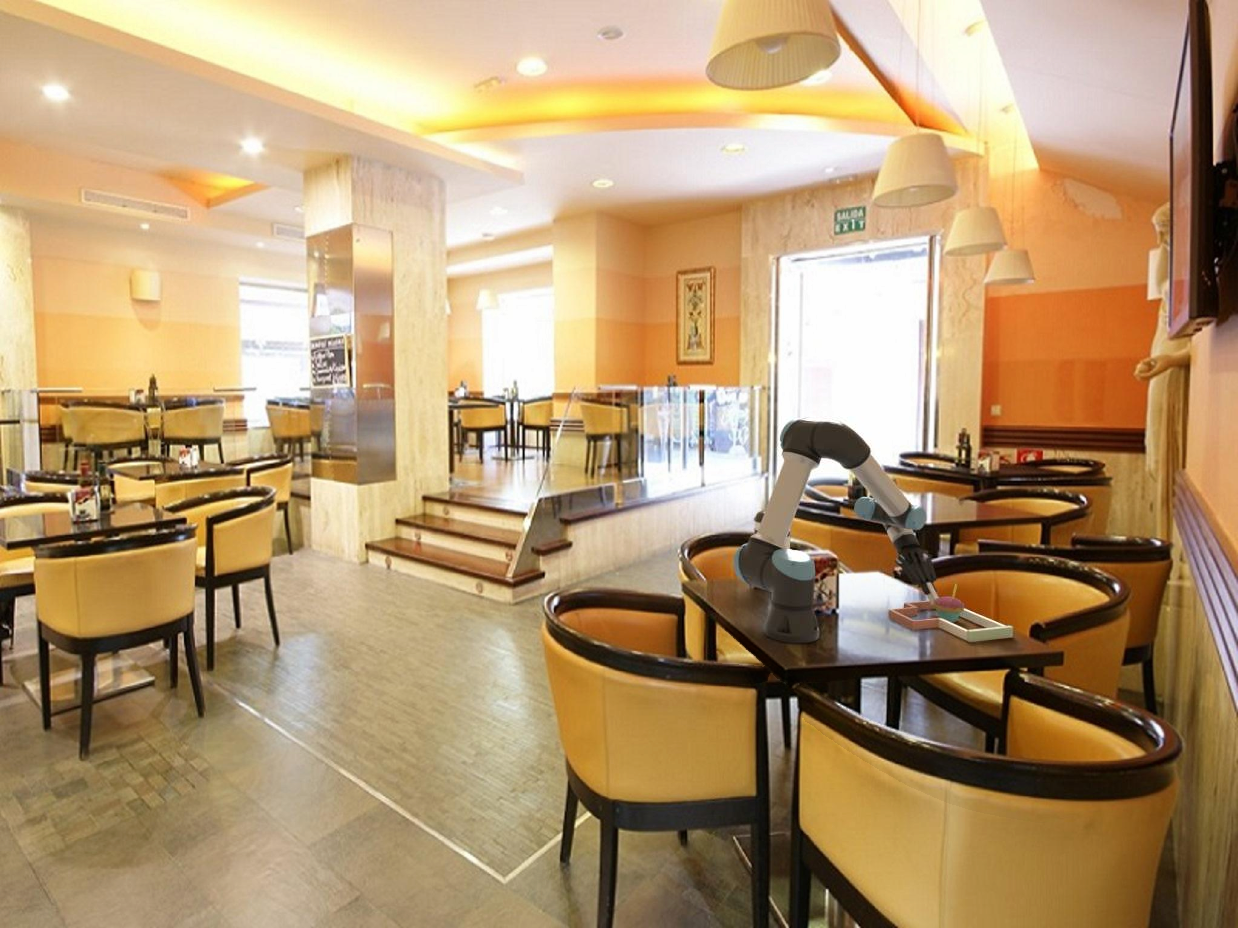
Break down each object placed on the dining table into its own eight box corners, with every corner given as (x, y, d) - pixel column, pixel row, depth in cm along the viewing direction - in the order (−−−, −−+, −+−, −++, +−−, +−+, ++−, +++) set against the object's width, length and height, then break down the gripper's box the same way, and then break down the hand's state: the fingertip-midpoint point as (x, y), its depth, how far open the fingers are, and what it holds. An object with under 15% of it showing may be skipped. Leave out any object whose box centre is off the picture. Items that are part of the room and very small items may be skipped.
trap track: (942, 644, 189) (943, 634, 188) (879, 612, 216) (879, 603, 215) (1012, 637, 195) (1013, 626, 194) (942, 606, 222) (942, 597, 221)
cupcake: (957, 615, 213) (959, 577, 212) (968, 625, 205) (970, 585, 203) (928, 614, 214) (930, 577, 212) (938, 624, 205) (940, 584, 204)
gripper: (914, 543, 233) (947, 607, 219) (881, 546, 230) (912, 610, 216) (926, 531, 228) (960, 595, 214) (892, 533, 224) (924, 599, 210)
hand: (936, 603), depth 215 cm, fingers closed
